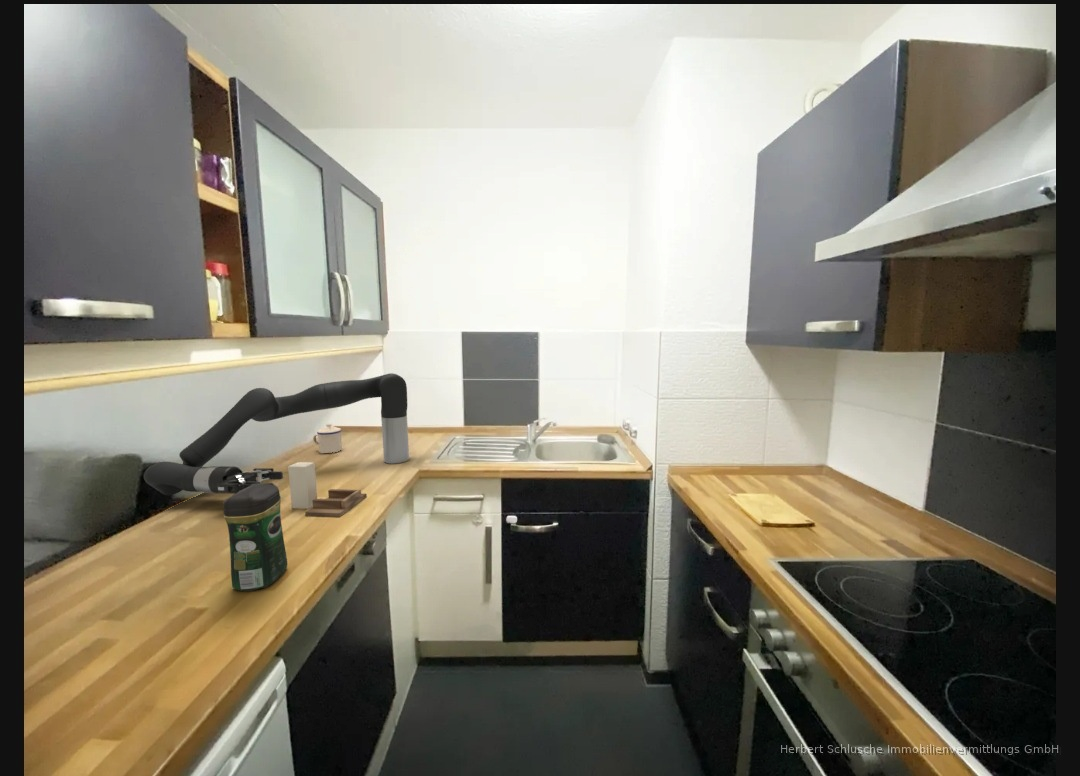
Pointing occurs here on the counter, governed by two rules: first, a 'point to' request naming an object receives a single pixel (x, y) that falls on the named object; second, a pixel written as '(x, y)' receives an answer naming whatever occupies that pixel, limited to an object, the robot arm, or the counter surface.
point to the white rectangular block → (302, 484)
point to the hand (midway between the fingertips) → (271, 480)
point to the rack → (336, 503)
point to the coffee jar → (255, 536)
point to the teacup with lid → (328, 439)
